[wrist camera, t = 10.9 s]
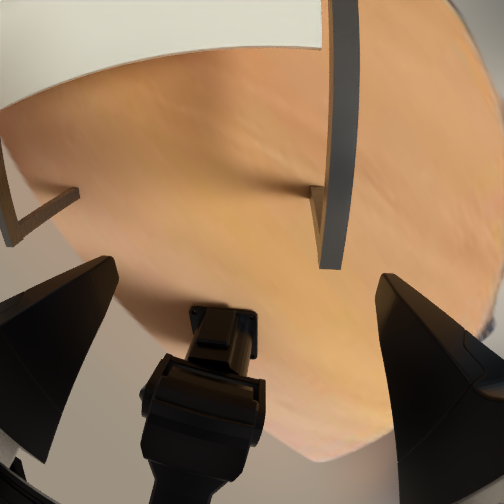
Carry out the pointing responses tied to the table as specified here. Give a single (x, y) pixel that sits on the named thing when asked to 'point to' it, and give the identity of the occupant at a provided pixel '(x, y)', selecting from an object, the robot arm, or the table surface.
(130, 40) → the sliding cover
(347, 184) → the cover frame
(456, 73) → the table surface
